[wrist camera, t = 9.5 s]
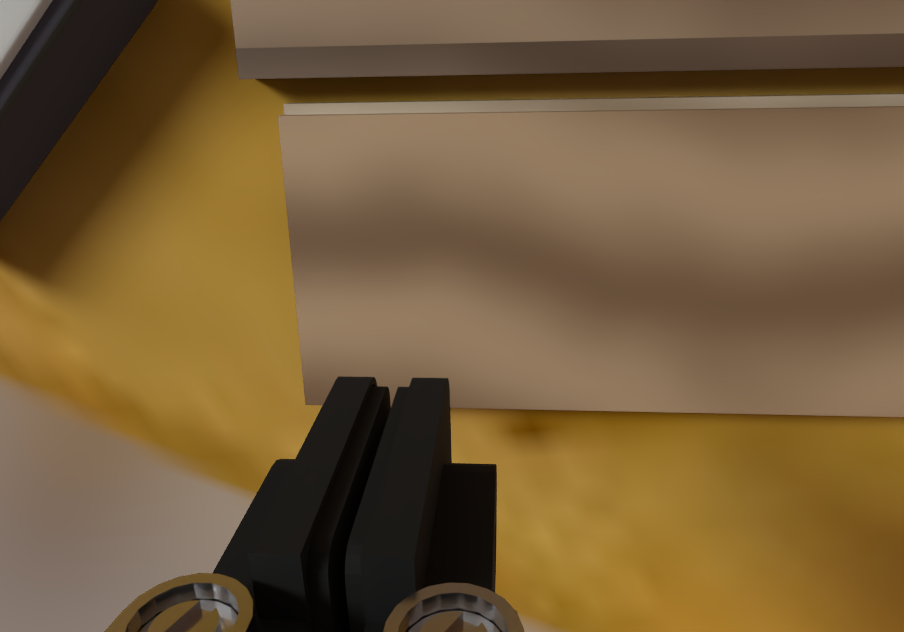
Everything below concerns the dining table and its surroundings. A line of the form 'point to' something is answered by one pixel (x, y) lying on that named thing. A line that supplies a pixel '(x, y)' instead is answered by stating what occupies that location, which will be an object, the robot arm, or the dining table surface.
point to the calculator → (52, 73)
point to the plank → (604, 251)
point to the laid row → (559, 36)
